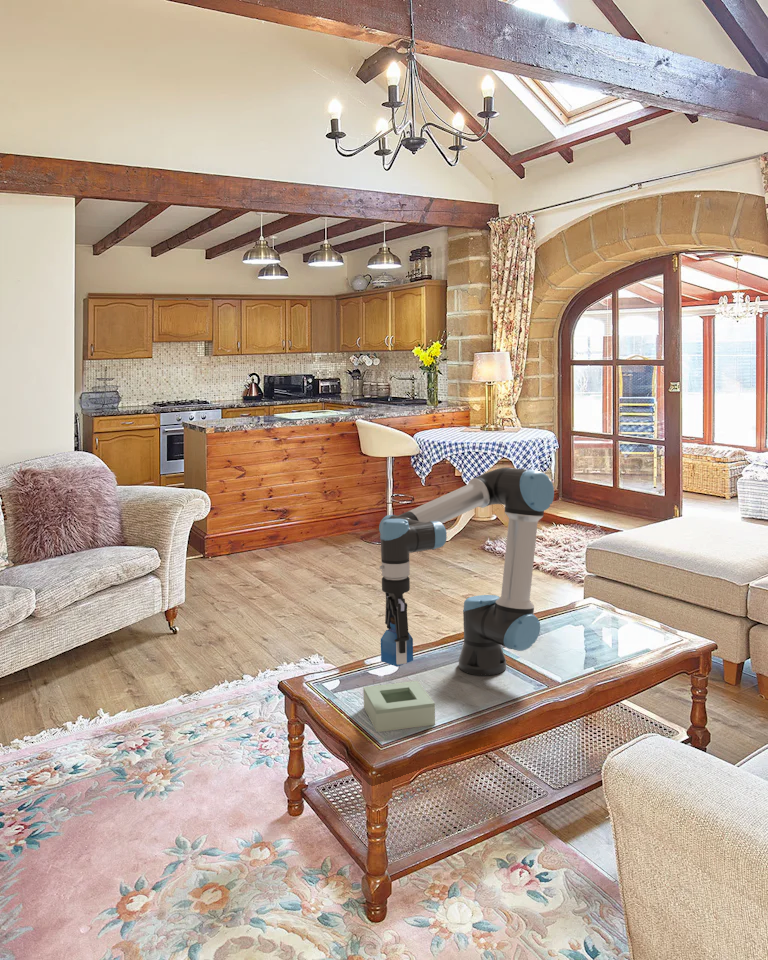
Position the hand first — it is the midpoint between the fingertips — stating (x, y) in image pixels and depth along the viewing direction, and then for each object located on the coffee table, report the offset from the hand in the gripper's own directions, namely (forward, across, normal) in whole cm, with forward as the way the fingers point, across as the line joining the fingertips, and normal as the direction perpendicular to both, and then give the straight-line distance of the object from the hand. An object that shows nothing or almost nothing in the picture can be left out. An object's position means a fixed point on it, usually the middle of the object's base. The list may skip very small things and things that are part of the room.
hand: (397, 657), depth 205 cm
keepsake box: (+17, 0, 0) cm, 17 cm away
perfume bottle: (+1, 0, 0) cm, 1 cm away
